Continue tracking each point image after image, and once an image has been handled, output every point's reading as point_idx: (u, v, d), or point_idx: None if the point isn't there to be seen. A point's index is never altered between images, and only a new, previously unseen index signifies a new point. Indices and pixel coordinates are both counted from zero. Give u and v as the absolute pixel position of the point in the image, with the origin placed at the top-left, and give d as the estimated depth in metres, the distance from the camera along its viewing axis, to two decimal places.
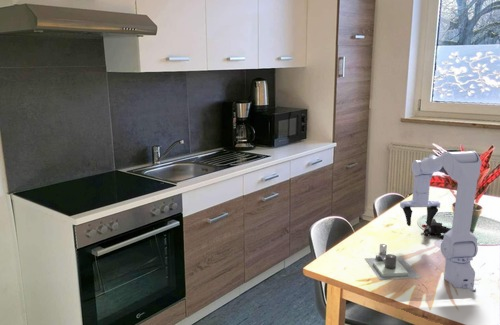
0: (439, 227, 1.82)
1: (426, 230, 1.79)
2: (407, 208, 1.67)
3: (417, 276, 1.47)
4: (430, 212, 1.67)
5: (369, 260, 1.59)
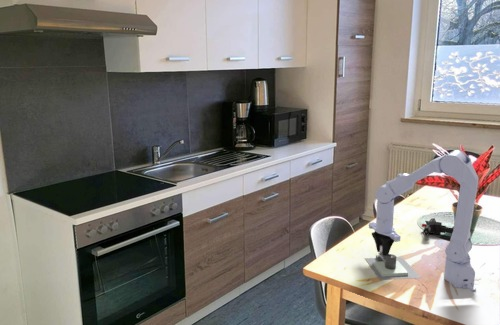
0: (439, 226, 1.83)
1: (426, 229, 1.79)
2: None
3: (417, 276, 1.47)
4: None
5: (369, 260, 1.59)
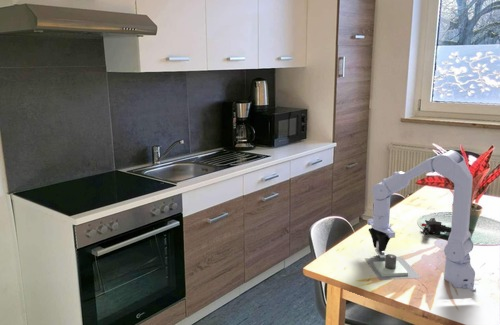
0: (438, 226, 1.84)
1: (425, 229, 1.80)
2: None
3: (417, 276, 1.47)
4: None
5: (369, 260, 1.59)
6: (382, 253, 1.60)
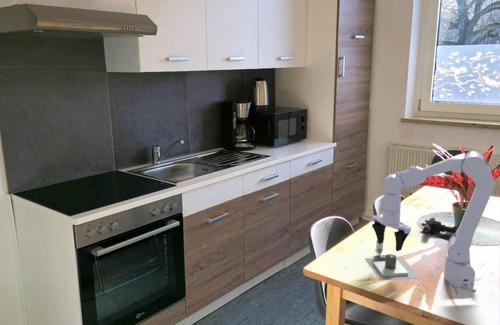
0: (438, 226, 1.84)
1: (425, 228, 1.80)
2: (376, 223, 1.54)
3: (417, 276, 1.47)
4: None
5: (369, 260, 1.59)
6: (382, 253, 1.60)
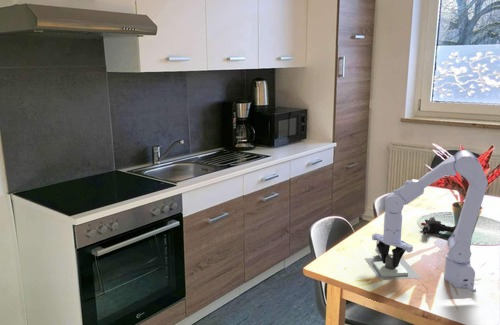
0: (438, 225, 1.85)
1: (425, 228, 1.81)
2: None
3: (417, 276, 1.47)
4: None
5: (369, 260, 1.59)
6: None
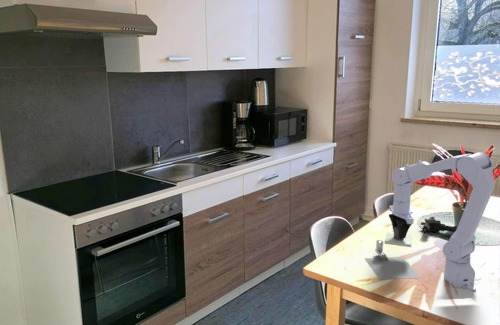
0: (437, 225, 1.85)
1: (424, 227, 1.81)
2: None
3: (417, 276, 1.47)
4: None
5: (369, 260, 1.59)
6: (382, 253, 1.60)
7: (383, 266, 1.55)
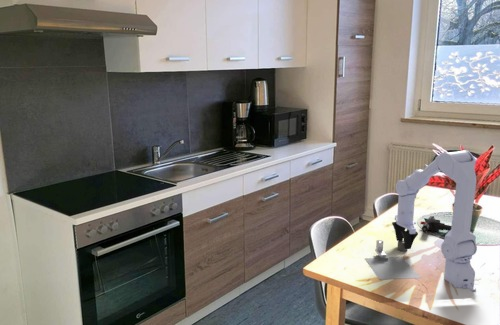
0: (437, 224, 1.86)
1: (424, 227, 1.82)
2: None
3: (417, 276, 1.47)
4: None
5: (369, 260, 1.59)
6: (382, 253, 1.60)
7: (383, 266, 1.55)
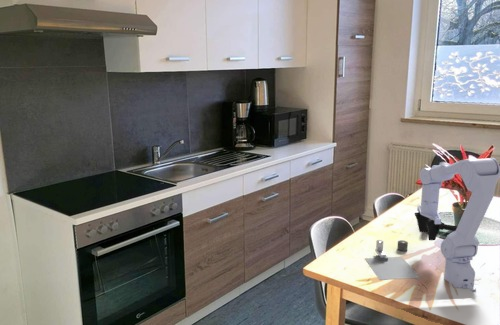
0: None
1: None
2: (419, 212, 1.64)
3: (417, 276, 1.47)
4: None
5: (369, 260, 1.59)
6: (382, 253, 1.60)
7: (383, 266, 1.55)
